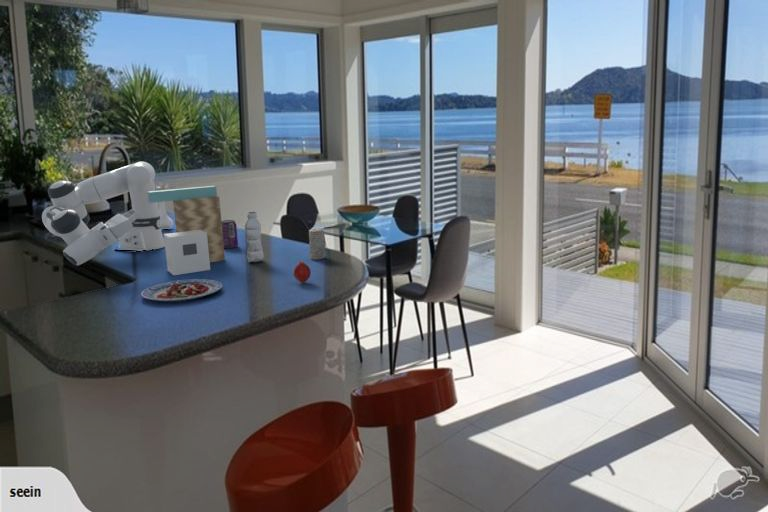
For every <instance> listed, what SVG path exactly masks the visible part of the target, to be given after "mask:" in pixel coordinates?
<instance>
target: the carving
mask: <svg viewBox="0 0 768 512" xmlns="http://www.w3.org/2000/svg"><path fill="white" fill-rule="evenodd" d="M308 240H309V256H310V259H311V260H314V261H318V260H323V259H324V258H325V256H326V250H325V249H326V246H325V245H326V242H325V231H324V229H323V228H312V229H309V230H308Z"/></svg>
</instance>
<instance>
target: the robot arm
mask: <svg viewBox="0 0 768 512" xmlns="http://www.w3.org/2000/svg"><path fill="white" fill-rule="evenodd" d="M155 177H156V171H155V168H154V166H153V165H151V164H150V163H149V162H146V161H137V162H134V163H131V164H128V165H125V166H122V167H120V168H116V169H114V170H110V171H107V172H105V173H102V174H98V175H94V176H91V177H89V178H87V179H84V180H82V181H80V182H77V183H76V182H72V181H70V180H59V181H56V182H54V183H52V184H51V185H49V187H48V189H47V193H48V197H49V199H50V200H51V203H52V205H51V206H48V207H46V208H45V209H44V210H43V211H42V213H41V219H42V223H43V225H44V226H45V228H46V229H47V230H48V231H49V232H50V233H51V234H53V235H54V236H57V237H60V238H62V240H63V241H64V243H66V244H67V246H66V247H65V248H64V249H63V250H62V253H63V256H64V257H65V259H66V260H67V261H68V262H70V264H72V265H74V266H81V265H82V264H84V263H86V262H88V261H90V260H91V259H93V258H95V257H96V256H97V255H98V254H99V253H100V252H101V251H103V250H104V249H106V248H109V247H110V246H112V245H113V244H115V243H116V244H117V242H119V243H118V244H119V245H118V246H119V248H121V249H127V250H138V251H141V252H143V251H142V250H146V251H151V250H152V249H153V250H159V249H163V248H165V241H164V235H163V232H162V230H161V220H160V216H159V202H154V203H150V202H149V201H148V192H149V191H155V184H156V183H155ZM126 193H129V195H130V196H129V197H130V201H131V209H130V210H128V211H127V212H125V213H123V214H121V213H117V214H115V215H114V216H112V217H111V218H110V219H108V220H107V221H106V222H105V223H103V222H102V221H101V222H99V223H98V224H96V225H94V226H93V227H92V228H91V229H89V227H88V224H89V222H90V219H91V218H90V215H89V212H88V210H87V208H86V206H85V205H90V204H95V203H100V202H102V201H103V202H104V201H106V200H108V199H112V198H115V197H118V196H120V195H124V194H126Z"/></svg>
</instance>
